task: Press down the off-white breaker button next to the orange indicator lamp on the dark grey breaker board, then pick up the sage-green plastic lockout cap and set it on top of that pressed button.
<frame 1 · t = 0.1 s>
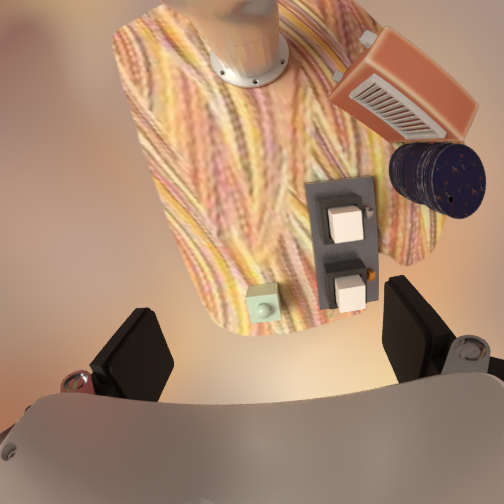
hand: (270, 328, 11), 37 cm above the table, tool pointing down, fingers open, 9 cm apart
tagged breaker button: (349, 291, 42), point 7 cm above the table, slide at 0.0 cm
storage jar: (412, 171, 41), on the table
orange fan heater: (366, 109, 39), on the table
breaker board: (344, 243, 47), on the table
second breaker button: (344, 222, 39), point 7 cm above the table, slide at 0.0 cm
lockout cap: (265, 296, 52), on the table
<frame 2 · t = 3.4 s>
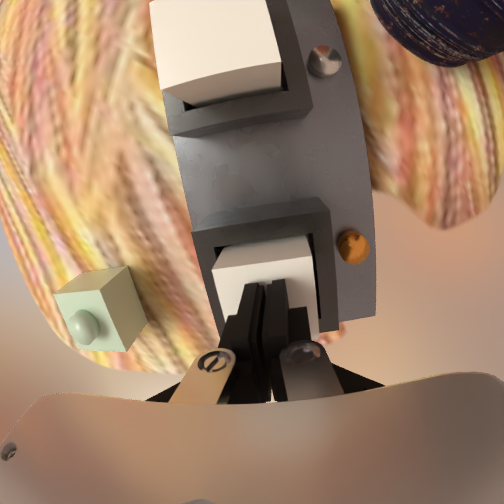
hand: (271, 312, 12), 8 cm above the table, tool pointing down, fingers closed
tagged breaker button: (270, 281, 14), point 6 cm above the table, slide at 1.4 cm, touching gripper
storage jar: (425, 14, 12), on the table
breaker board: (274, 161, 17), on the table
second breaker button: (222, 47, 9), point 7 cm above the table, slide at 0.0 cm
lockout cap: (114, 296, 22), on the table
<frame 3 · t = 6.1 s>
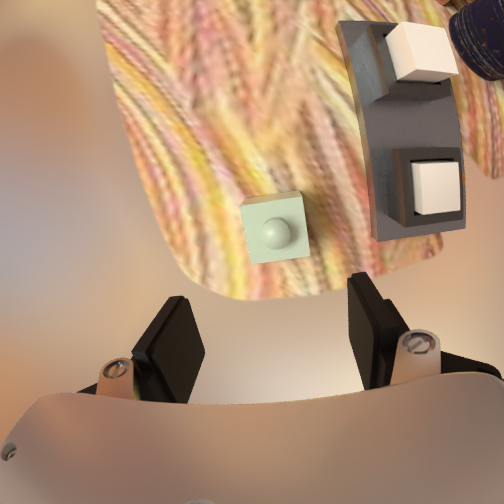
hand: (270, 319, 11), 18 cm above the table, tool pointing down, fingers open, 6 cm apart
tagged breaker button: (427, 184, 21), point 5 cm above the table, slide at 2.3 cm
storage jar: (477, 45, 18), on the table
breaker board: (408, 125, 23), on the table
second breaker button: (417, 55, 15), point 7 cm above the table, slide at 0.0 cm
lockout cap: (276, 219, 28), on the table
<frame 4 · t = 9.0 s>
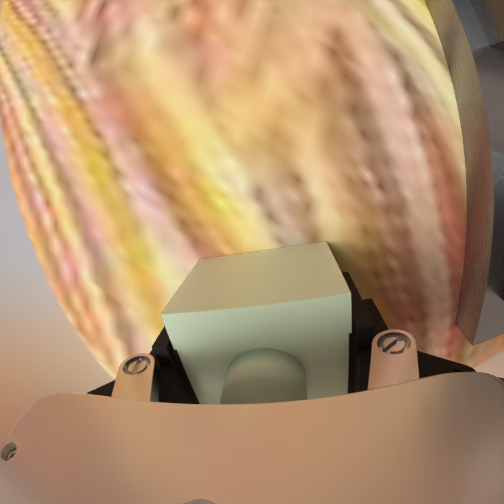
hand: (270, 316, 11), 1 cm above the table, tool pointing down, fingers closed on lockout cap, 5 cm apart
lockout cap: (271, 306, 12), on the table, touching gripper
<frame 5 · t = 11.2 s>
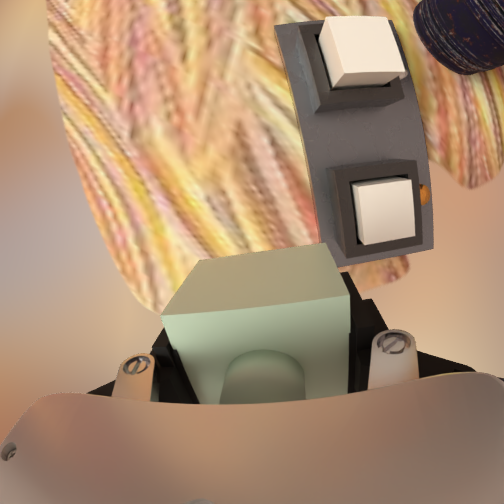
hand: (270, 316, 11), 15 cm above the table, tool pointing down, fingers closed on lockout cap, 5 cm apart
tagged breaker button: (377, 205, 20), point 5 cm above the table, slide at 2.3 cm
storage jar: (450, 36, 17), on the table
breaker board: (361, 135, 22), on the table
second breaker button: (356, 55, 14), point 7 cm above the table, slide at 0.0 cm
lockout cap: (270, 307, 12), point 14 cm above the table, touching gripper
when the fingers open (9 cm above the table, at t = 13.3 s): lockout cap drops 1 cm, resting on tagged breaker button.
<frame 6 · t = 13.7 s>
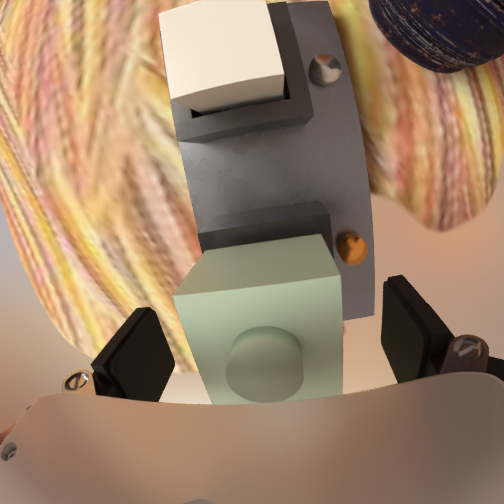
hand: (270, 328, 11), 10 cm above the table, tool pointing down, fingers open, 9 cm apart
tagged breaker button: (273, 273, 16), point 5 cm above the table, slide at 2.3 cm, touching lockout cap
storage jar: (423, 21, 13), on the table
breaker board: (276, 166, 18), on the table
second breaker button: (228, 57, 10), point 7 cm above the table, slide at 0.0 cm
lockout cap: (271, 294, 13), point 7 cm above the table, touching tagged breaker button
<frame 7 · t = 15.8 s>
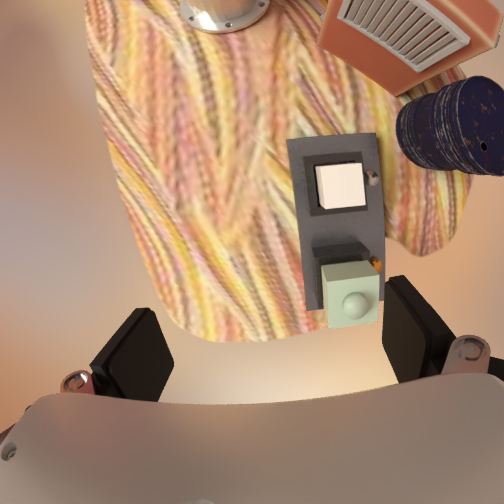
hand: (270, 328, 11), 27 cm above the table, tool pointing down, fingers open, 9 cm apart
tagged breaker button: (341, 276, 33), point 5 cm above the table, slide at 2.3 cm, touching lockout cap
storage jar: (425, 134, 31), on the table
orange fan heater: (364, 57, 29), on the table
breaker board: (339, 222, 35), on the table
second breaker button: (338, 184, 27), point 7 cm above the table, slide at 0.0 cm
lockout cap: (345, 284, 30), point 7 cm above the table, touching tagged breaker button
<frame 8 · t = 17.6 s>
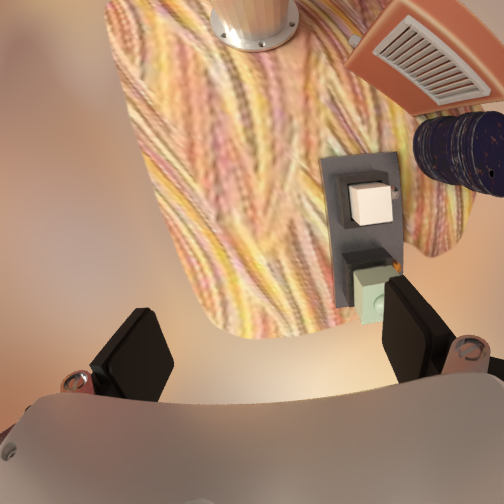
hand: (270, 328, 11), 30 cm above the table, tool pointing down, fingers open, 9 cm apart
tagged breaker button: (368, 278, 37), point 5 cm above the table, slide at 2.3 cm, touching lockout cap
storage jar: (437, 149, 34), on the table
orange fan heater: (386, 79, 32), on the table
breaker board: (364, 230, 39), on the table
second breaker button: (369, 201, 31), point 7 cm above the table, slide at 0.0 cm
lockout cap: (372, 286, 34), point 7 cm above the table, touching tagged breaker button
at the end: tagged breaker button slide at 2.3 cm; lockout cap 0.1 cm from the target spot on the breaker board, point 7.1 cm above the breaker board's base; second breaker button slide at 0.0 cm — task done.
